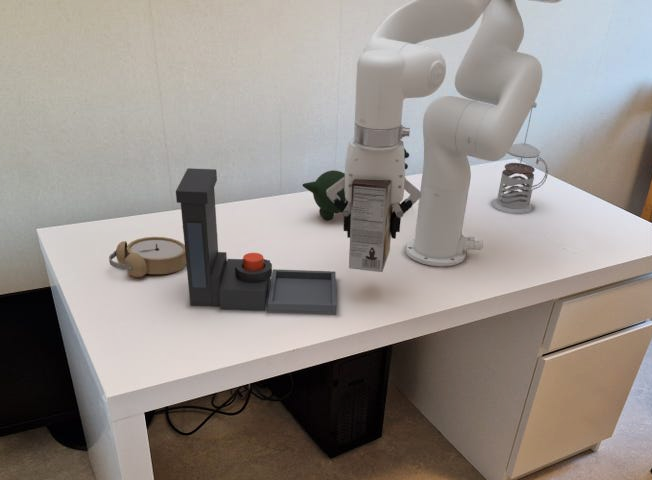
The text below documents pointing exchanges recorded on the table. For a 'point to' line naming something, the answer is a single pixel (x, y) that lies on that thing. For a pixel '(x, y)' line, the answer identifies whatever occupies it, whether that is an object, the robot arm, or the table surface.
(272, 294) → the pan
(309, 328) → the table surface
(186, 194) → the coffee machine tank
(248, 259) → the brew button
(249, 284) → the button base
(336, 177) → the toy figurine
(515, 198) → the french press
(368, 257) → the coffee box
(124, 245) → the alarm clock
